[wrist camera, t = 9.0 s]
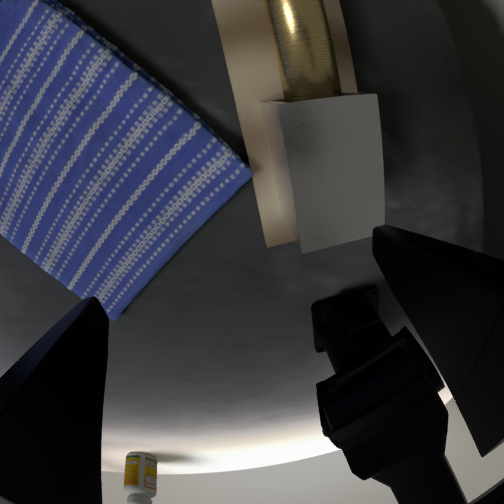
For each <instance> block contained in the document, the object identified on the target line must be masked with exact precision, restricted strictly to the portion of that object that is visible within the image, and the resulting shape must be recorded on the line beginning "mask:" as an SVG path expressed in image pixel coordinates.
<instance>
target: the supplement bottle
mask: <svg viewBox="0 0 504 504" xmlns="http://www.w3.org/2000/svg"><path fill="white" fill-rule="evenodd" d="M124 491H125V492H126V493H127V494H129V496H128V497H127V504H152V500H151V498H153V497H154V496H155V495H156V491H157V460H156V458H155V457H153V456H152V455H149V454H146V453H140V452H131V453H128V454H127V455H126V463H125V476H124Z"/></svg>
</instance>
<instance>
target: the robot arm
mask: <svg viewBox="0 0 504 504" xmlns="http://www.w3.org/2000/svg"><path fill="white" fill-rule="evenodd" d="M372 252H373V256H374V258H375V260H376V262H377V264H378V266H379V268H380V270H381V271H382V273H383V275H384V277H385V279H386V281H387V283H388V285H389V287H390V289H391V291H392V293H393V294H394V296H395V298H396V299H397V301H398V302H399V304H400V305H401V307H402V309H403V310H404V312H405V313H406V315H407V317H408V318H409V320H410V321H411V323H412V325H413V326H414V328H415V330H416V331H417V333H418V335H419V336H420V338H421V340H422V341H423V343H424V345H425V346H426V348H427V350H428V352H429V353H430V355H431V357H432V359H433V360H434V362H435V364H436V366H437V368H438V369H439V371H440V373H441V375H442V377H443V379H444V380H445V382H446V384H447V386H448V388H449V390H450V392H451V394H452V396H453V397H454V399H455V400H456V401H455V402H456V404H457V406H458V408H459V410H460V412H461V414H462V416H463V418H464V420H465V422H466V424H467V426H468V428H469V431H470V433H471V435H472V437H473V440H474V442H475V444H476V446H477V449H478V451H479V453H480V455H481V457H484V456H485V455H487V454H488V453H489V452H491V451H492V450H494V449H495V448H496V447H498V446H499V445H500V444H502V443H503V442H504V260H501V259H498V258H494V257H492V256H488V255H485V254H482V253H479V252H476V253H475V251H473V250H470V249H467V248H464V247H461V246H457V245H454V244H451V243H448V242H445V241H441V240H438V239H435V238H431V237H428V236H424V235H421V234H418V233H414V232H411V231H407V230H404V229H400V228H396V227H393V226H389V225H380V226H376V227H374V228H373V232H372ZM373 291H374V292H373ZM378 301H379V289H378V288H377V286H371V287H368V288H365V289H361V290H358V291H355V292H351V293H348V294H344V295H341V296H338V297H334V298H331V299H327V300H324V301H320V302H316V303H314V304H313V305H312V306H311V312H312V322H313V333H314V344H315V350H316V352H317V353H321V352H324V351H326V352H327V354H328V357H329V359H330V362H331V364H332V366H333V369H334V371H335V375H333V376H331V377H330V378H328V379H326V380H324V381H321V382H319V383H317V384H316V388H317V399H318V407H319V414H320V421H321V426H322V428H323V429H322V432H323V434H324V436H326V437H329V439H330V440H331V442H332V443H333V444H334V445H335V446H336V447H337V448H339V449H342V451H343V453H344V455H345V457H346V459H347V462H348V464H349V466H350V469H351V471H352V473H353V474H355V475H356V476H358V477H359V478H360V479H362V480H367V479H369V478H373V479H375V480H377V481H379V482H381V483H383V484H385V485H387V486H389V487H390V488H391V490H392V492H393V493H394V495H395V497H396V499H397V501H398V503H399V504H504V478H503V479H502V480H501V481H499V482H498V483H497V484H496V485H494V486H493V487H491V488H490V489H489V490H487V491H486V492H484V493H483V494H481V495H480V496H479V497H477V498H476V499H474V500H473V501H471V502H470V503H468V502H467V500H466V498H465V496H464V493H463V491H462V489H461V487H460V485H459V483H458V480H457V478H456V476H455V474H454V472H453V470H452V468H451V466H450V464H449V462H448V460H447V458H446V456H445V446H446V437H447V429H448V411H447V409H446V407H445V405H444V403H443V402H442V400H441V398H440V396H439V394H438V392H439V391H440V390H442V389H443V388H444V387H445V385H444V383H443V381H442V379H441V377H440V375H439V373H438V372H437V370H436V368H435V366H434V365H433V363H432V362H431V360H430V359H429V357H428V356H427V354H426V353H425V351H424V350H423V349H422V347H421V346H420V345H419V343H418V342H417V340H416V339H415V338H414V336H413V335H412V334H411V332H410V331H409V330H408V329H407V327H406V326H405V327H403V328H402V329H401V330H400V332H398V333H397V334H395V335H394V336H393V337H392V336H391V334H390V333H389V331H388V329H387V328H386V326H385V325H384V323H383V322H382V320H381V319H380V317H379V316H378V314H377V312H378ZM318 307H319V308H318ZM316 308H318V309H316ZM108 334H109V318H108V315H107V313H106V311H105V310H104V308H103V306H102V305H101V303H100V301H99V300H98V298H97V297H95V296H91V297H87V298H84V299H83V300H82V301H81V302H80V303H78V304H77V305H76V306H75V307H74V308H73V309H72V310H71V311H69V312H68V313H67V314H66V315H65V316H64V317H63V318H62V319H61V320H60V321H58V322H57V323H56V324H55V325H54V326H53V327H52V328H51V329H50V330H49V331H48V332H47V333H46V334H44V335H43V336H42V337H41V338H40V339H39V340H38V341H37V342H36V343H35V344H34V345H33V346H32V347H31V348H30V349H29V350H28V351H27V352H26V353H25V354H24V355H23V356H22V357H21V358H20V359H19V361H17V362H16V363H15V364H14V365H13V366H12V367H11V368H10V369H9V370H8V371H7V372H6V373H5V374H4V375H3V376H2V377H1V378H0V504H102V483H101V440H102V418H103V403H104V391H105V381H106V371H107V361H108Z"/></svg>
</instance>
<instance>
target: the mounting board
mask: <svg viewBox="0 0 504 504" xmlns="http://www.w3.org/2000/svg"><path fill="white" fill-rule="evenodd" d="M211 1H212V5H213V9H214V13H215V17H216V21H217V26H218V30H219V34H220V38H221V42H222V47H223V51H224V55H225V59H226V64H227V68H228V72H229V77H230V81H231V86H232V90H233V94H234V99H235V103H236V108H237V112H238V117H239V121H240V125H241V130H242V134H243V139H244V144H245V148H246V153H247V157H248V162H249V166H250V169H251V171H252V172H253V174H254V176H252V180H253V185H254V190H255V194H256V199H257V204H258V209H259V213H260V218H261V223H262V228H263V233H264V237H265V242H266V245H267V247H271V246H275V245H279V244H283V243H287V242H291V241H294V239H293V237H292V235H291V234H290V232H289V230H288V228H287V226H286V224H285V223H284V221H283V219H282V216H281V210H280V205H279V199H278V193H277V188H276V183H275V177H274V172H273V166H272V161H271V156H270V151H269V146H268V141H267V136H266V131H265V126H264V121H263V116H262V111H261V106H260V102H264V101H270V100H275V99H281V98H284V95H283V90H282V85H281V80H280V75H279V71H278V66H277V61H276V57H275V52H274V48H273V43H272V39H271V34H270V30H269V26H268V22H267V18H266V14H265V10H264V6H263V2H262V0H211ZM323 3H324V7H325V11H326V15H327V19H328V23H329V28H330V32H331V37H332V41H333V46H334V51H335V56H336V61H337V67H338V72H339V78H340V84H341V90H342V91H345V92H357V86H356V79H355V73H354V67H353V62H352V56H351V51H350V46H349V41H348V36H347V32H346V27H345V23H344V19H343V15H342V10H341V6H340V3H339V0H323Z"/></svg>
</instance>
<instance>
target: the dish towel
mask: <svg viewBox="0 0 504 504" xmlns="http://www.w3.org/2000/svg"><path fill="white" fill-rule="evenodd" d="M252 176H254V174H253V172H252V171H251V169H250V168H249V166H248V165H247V164H245V163H244V162H243V161H242V160H241V159H240V158H239V156H238V155H237V154H236V153H235V152H234V151H233V150H232V149H231V148H230V147H229V146H228V145H227V144H226V143H225V142H224V141H223V140H222V139H221V138H220V137H218V136H217V135H216V134H215V132H214V131H213V130H212V129H211V128H210V127H209V126H208V125H207V124H206V123H205V122H204V121H202V120H201V119H200V117H199V116H198V115H197V114H195V113H193V112H192V111H191V110H190V109H189V108H188V107H187V106H186V105H184V104H183V102H182V101H181V100H179V99H178V98H176V97H175V96H174V95H173V94H172V93H171V91H170V90H168V89H167V88H166V87H164V86H163V85H162V84H160V83H159V82H158V81H157V80H156V79H155V78H153V77H151V76H149V75H148V74H147V73H146V72H145V71H144V69H142V68H141V67H140V66H138V65H137V64H135V63H134V62H133V61H132V60H131V59H129V58H128V57H127V56H126V55H124V54H123V53H122V52H121V51H120V50H119V49H118V48H117V47H116V46H114V45H113V44H111V43H110V42H108V41H107V40H106V39H105V38H103V37H102V36H101V35H99V34H98V33H97V32H96V31H95V30H94V29H92V28H91V27H90V26H88V25H87V24H86V23H85V22H83V21H82V20H81V19H80V17H78V16H76V15H75V13H74V12H73V11H71V10H70V9H68V8H67V7H64V6H63V5H62V4H61V3H59V2H58V1H57V0H2V2H1V3H0V234H1V235H3V236H4V237H5V238H6V239H8V240H9V241H10V242H11V243H12V244H13V245H14V246H15V247H17V248H18V249H19V250H20V251H21V252H22V253H24V254H25V255H27V256H28V257H29V258H30V259H32V260H33V261H34V262H35V263H36V264H38V265H39V266H40V267H41V268H42V269H43V270H45V271H46V272H47V273H49V274H50V275H52V276H53V277H55V278H56V279H57V280H59V281H60V282H61V283H62V284H64V285H65V286H66V287H67V288H68V289H69V290H71V291H73V292H74V293H75V294H77V295H78V296H80V297H81V298H82V299H84V298H87V297H91V296H95V297H97V298H98V300H99V301H100V303H101V305H102V306H103V308H104V310H105V311H106V313H107V315H108V317H109V318H110V319H111V320H113V321H117V319H118V317H119V316H120V315H121V313H122V311H123V310H124V309H125V308H126V307H127V306H128V305H129V304H130V303H131V301H132V300H133V299H134V298H135V297H136V296H137V294H138V293H139V292H140V291H141V290H142V289H143V288H144V287H145V285H146V284H147V283H148V282H149V281H150V280H151V279H152V278H153V277H154V276H155V274H156V273H157V272H158V271H159V270H160V269H161V268H162V267H163V266H164V265H165V264H166V263H167V262H168V261H169V259H170V258H171V257H172V256H173V255H174V254H175V253H176V252H177V251H178V250H179V249H180V247H181V246H182V245H183V244H184V243H185V242H186V241H187V240H188V239H189V238H190V237H191V236H192V235H193V234H194V233H195V232H196V231H197V230H198V229H199V228H200V227H201V226H202V225H203V224H204V223H205V222H206V221H207V220H208V219H209V218H210V217H211V216H212V215H213V214H214V213H215V212H216V211H217V210H218V209H219V208H220V207H222V206H223V204H224V203H225V202H226V201H227V200H228V199H229V198H231V197H232V196H233V194H234V193H235V192H236V191H237V190H238V189H239V188H240V187H241V186H242V185H244V184H245V183H246V182H247V181H248V180H249V179H250V178H251V177H252Z"/></svg>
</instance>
